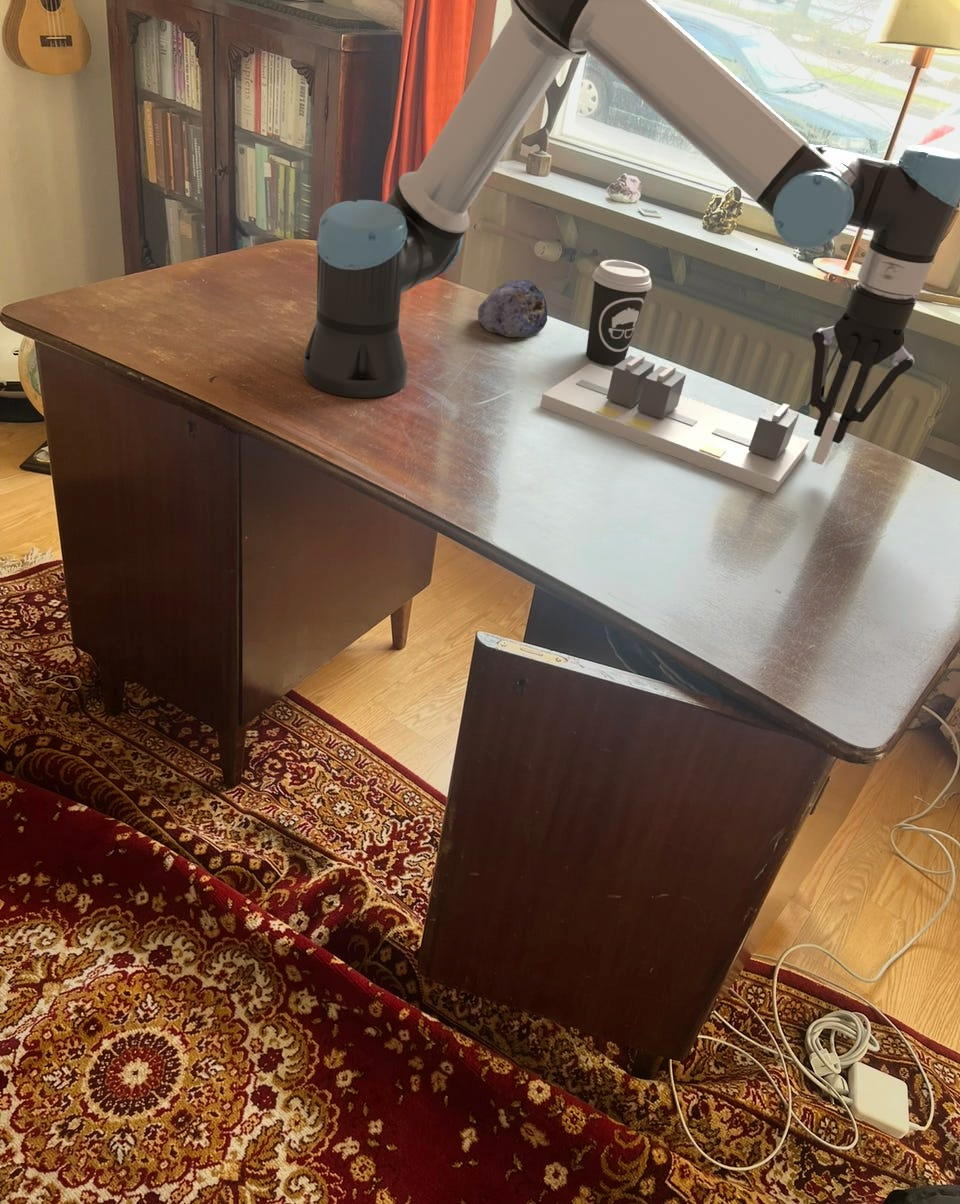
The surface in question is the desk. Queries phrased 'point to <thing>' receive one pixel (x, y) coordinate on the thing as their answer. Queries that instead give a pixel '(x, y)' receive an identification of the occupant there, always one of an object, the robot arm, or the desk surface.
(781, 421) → the slider
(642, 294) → the coffee cup
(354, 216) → the robot arm
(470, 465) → the desk surface
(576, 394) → the console
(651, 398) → the slider
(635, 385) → the slider
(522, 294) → the rock
